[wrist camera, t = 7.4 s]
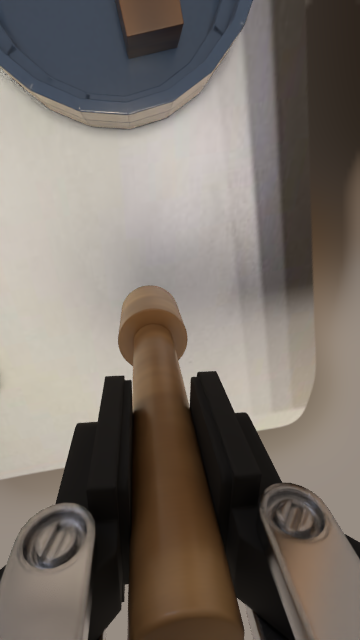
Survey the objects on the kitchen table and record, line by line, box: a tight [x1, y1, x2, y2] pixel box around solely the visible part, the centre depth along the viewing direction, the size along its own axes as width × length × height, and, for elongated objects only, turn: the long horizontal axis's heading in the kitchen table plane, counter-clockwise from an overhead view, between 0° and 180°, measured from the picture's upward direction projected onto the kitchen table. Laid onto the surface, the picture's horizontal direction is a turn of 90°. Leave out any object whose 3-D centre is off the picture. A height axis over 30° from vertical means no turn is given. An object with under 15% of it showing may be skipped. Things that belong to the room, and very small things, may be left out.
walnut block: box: [115, 0, 184, 59], centre depth 23 cm, size 4×4×4 cm
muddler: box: [118, 285, 244, 640], centre depth 12 cm, size 3×3×15 cm
